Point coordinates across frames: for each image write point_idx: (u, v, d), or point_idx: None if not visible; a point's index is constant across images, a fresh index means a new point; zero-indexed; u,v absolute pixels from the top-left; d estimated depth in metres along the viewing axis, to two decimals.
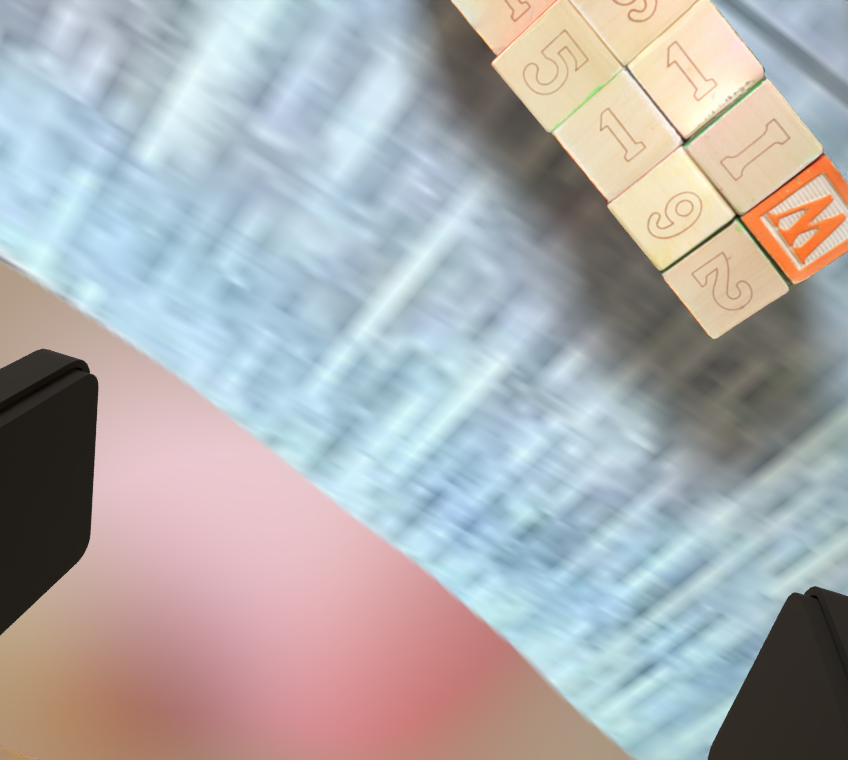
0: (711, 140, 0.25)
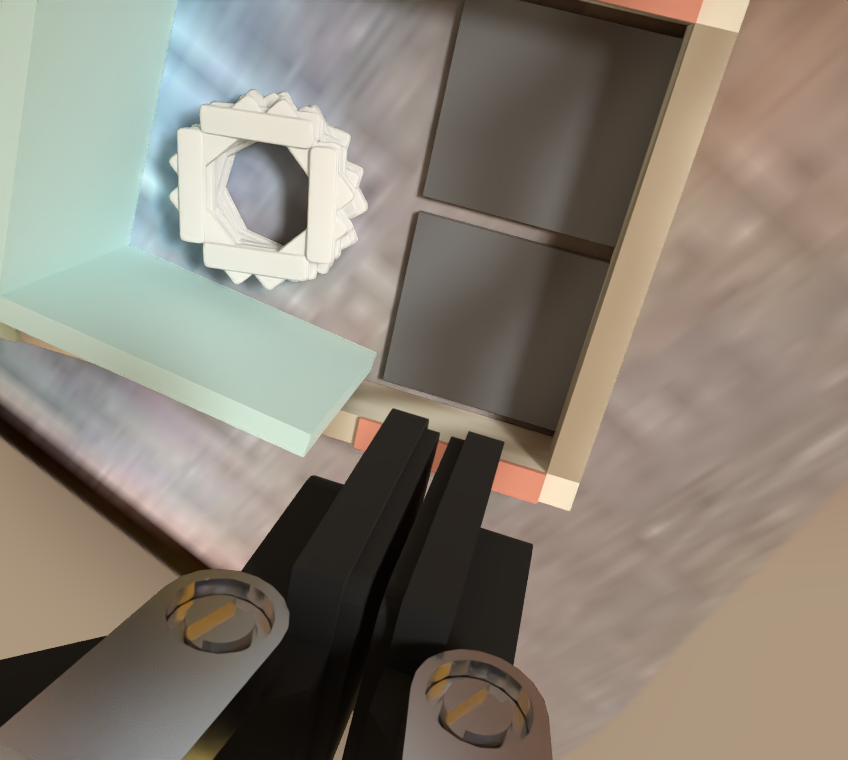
0: None
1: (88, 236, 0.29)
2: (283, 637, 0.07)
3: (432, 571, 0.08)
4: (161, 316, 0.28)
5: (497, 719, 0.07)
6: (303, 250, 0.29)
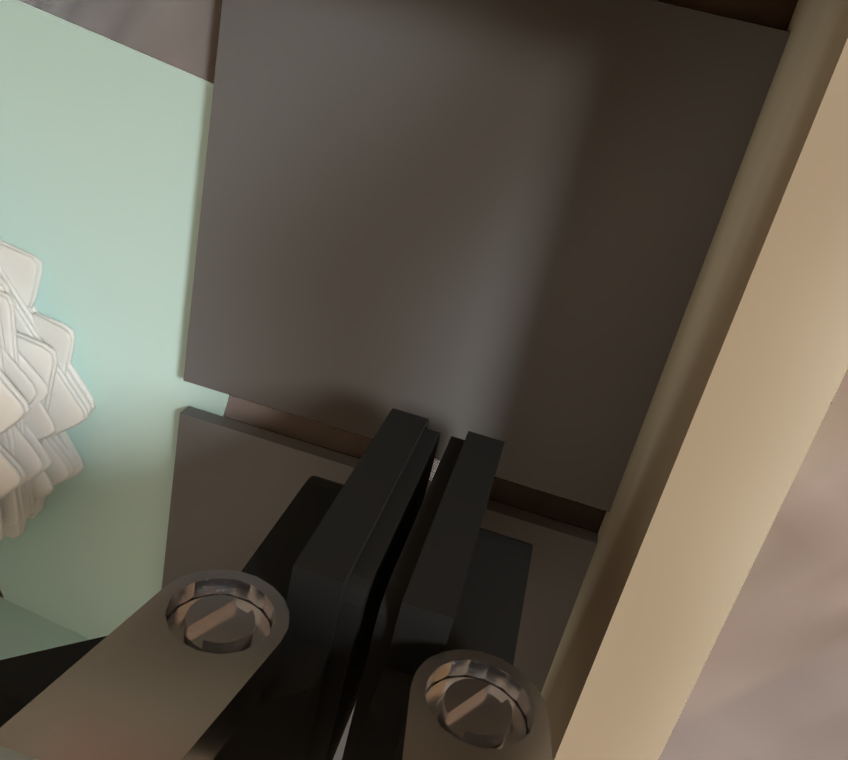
0: None
1: None
2: (283, 637, 0.07)
3: (432, 571, 0.08)
4: None
5: (497, 719, 0.07)
6: None
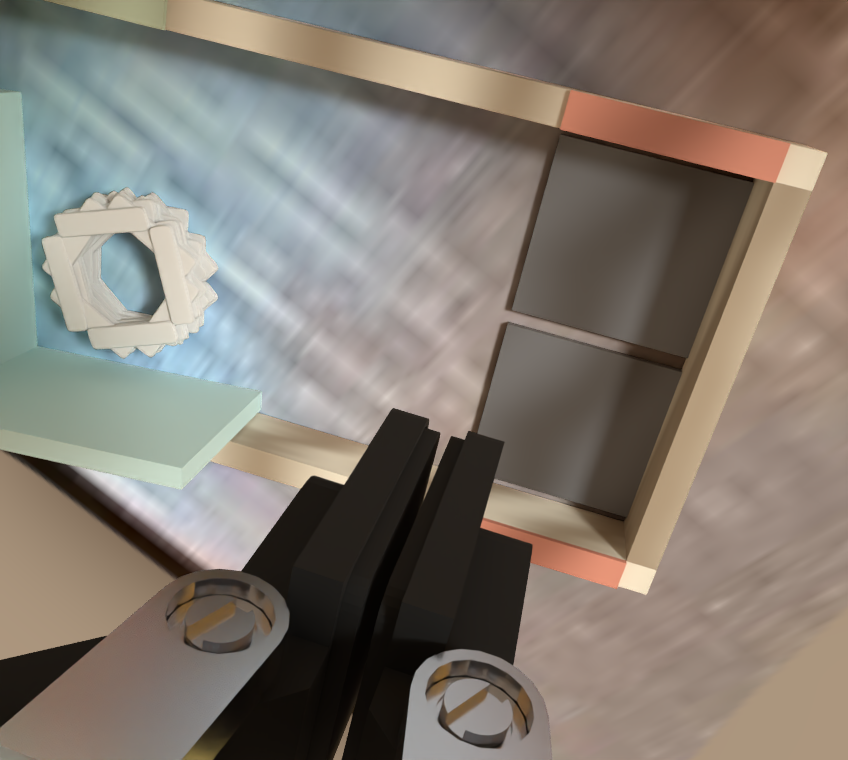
0: None
1: None
2: (283, 637, 0.07)
3: (432, 571, 0.08)
4: (57, 399, 0.32)
5: (497, 719, 0.07)
6: (167, 316, 0.33)
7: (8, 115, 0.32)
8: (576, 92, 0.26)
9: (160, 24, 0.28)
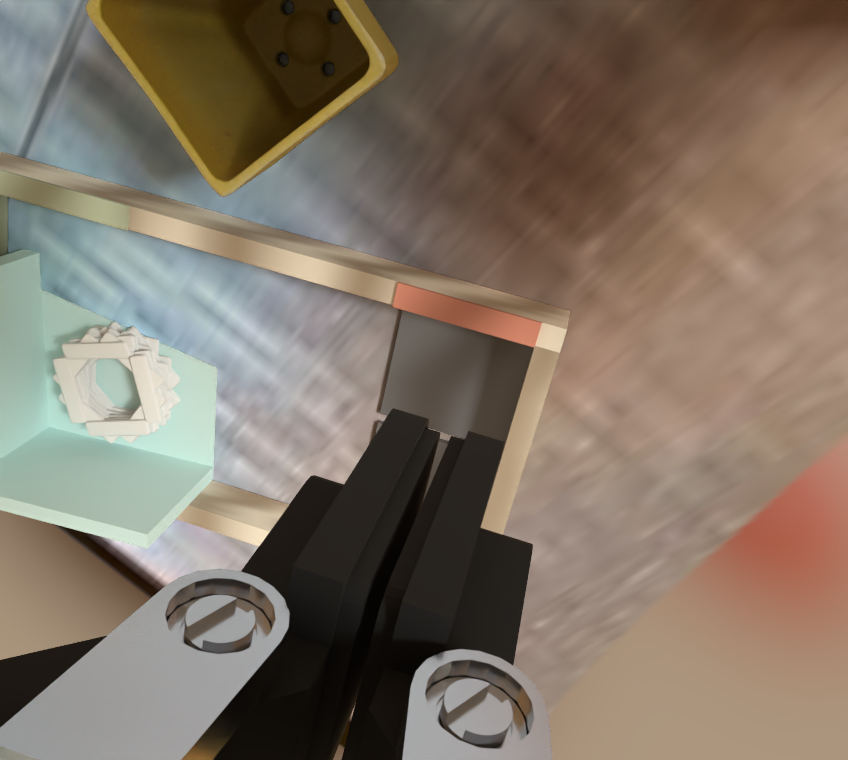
0: None
1: (14, 432, 0.47)
2: (283, 637, 0.07)
3: (432, 571, 0.08)
4: (62, 475, 0.45)
5: (497, 719, 0.07)
6: (143, 416, 0.46)
7: (30, 271, 0.45)
8: (401, 284, 0.38)
9: (124, 226, 0.40)
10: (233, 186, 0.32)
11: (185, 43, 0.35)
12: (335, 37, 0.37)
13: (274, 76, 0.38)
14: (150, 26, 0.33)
